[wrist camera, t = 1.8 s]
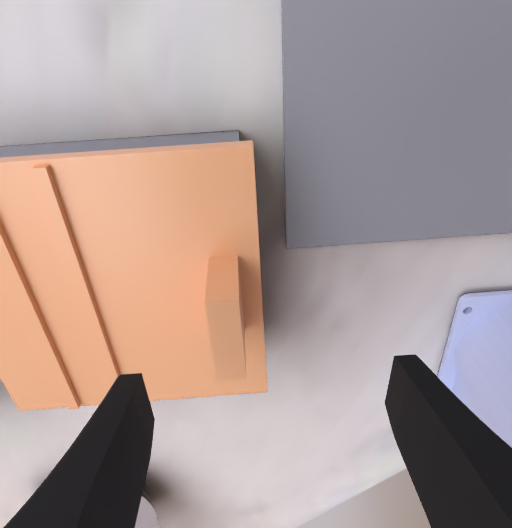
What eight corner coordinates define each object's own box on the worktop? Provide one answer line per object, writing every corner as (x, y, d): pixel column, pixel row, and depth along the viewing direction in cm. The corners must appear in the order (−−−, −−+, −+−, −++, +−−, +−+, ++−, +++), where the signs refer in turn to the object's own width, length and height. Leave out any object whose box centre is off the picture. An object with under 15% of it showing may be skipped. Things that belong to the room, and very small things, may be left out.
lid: (266, 383, 22) (272, 444, 19) (24, 401, 22) (-10, 466, 19) (252, 140, 15) (257, 175, 12) (-107, 164, 15) (-196, 206, 12)
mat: (586, 222, 21) (593, 226, 21) (285, 243, 21) (286, 249, 21) (782, -231, 13) (801, -239, 12) (278, -202, 13) (279, -209, 12)
